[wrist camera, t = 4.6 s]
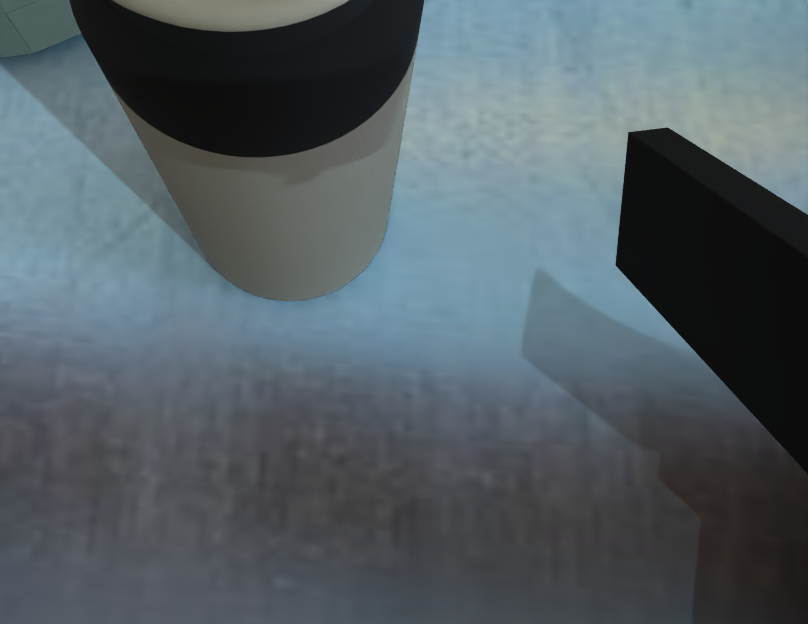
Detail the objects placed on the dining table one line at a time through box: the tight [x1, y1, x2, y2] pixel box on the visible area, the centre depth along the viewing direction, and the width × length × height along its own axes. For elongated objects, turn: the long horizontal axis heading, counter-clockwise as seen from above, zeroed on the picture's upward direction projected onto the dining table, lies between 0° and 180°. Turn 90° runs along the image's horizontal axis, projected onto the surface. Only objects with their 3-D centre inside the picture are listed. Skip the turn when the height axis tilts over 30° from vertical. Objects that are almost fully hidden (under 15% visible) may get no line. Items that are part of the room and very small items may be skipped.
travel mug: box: [69, 0, 424, 301], centre depth 22 cm, size 8×8×18 cm
